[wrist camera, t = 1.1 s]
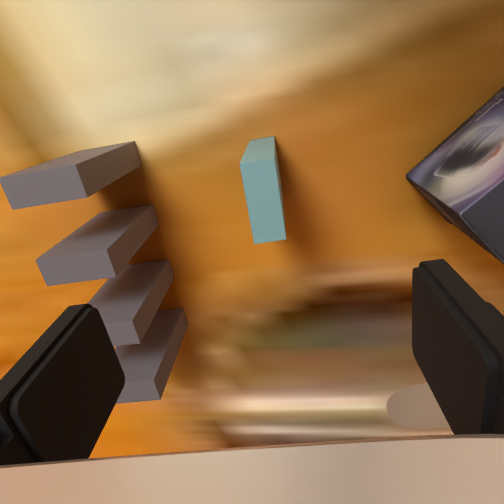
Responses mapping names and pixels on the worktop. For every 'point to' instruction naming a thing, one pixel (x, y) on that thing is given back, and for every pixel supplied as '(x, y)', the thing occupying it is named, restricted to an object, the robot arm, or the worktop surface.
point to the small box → (470, 177)
